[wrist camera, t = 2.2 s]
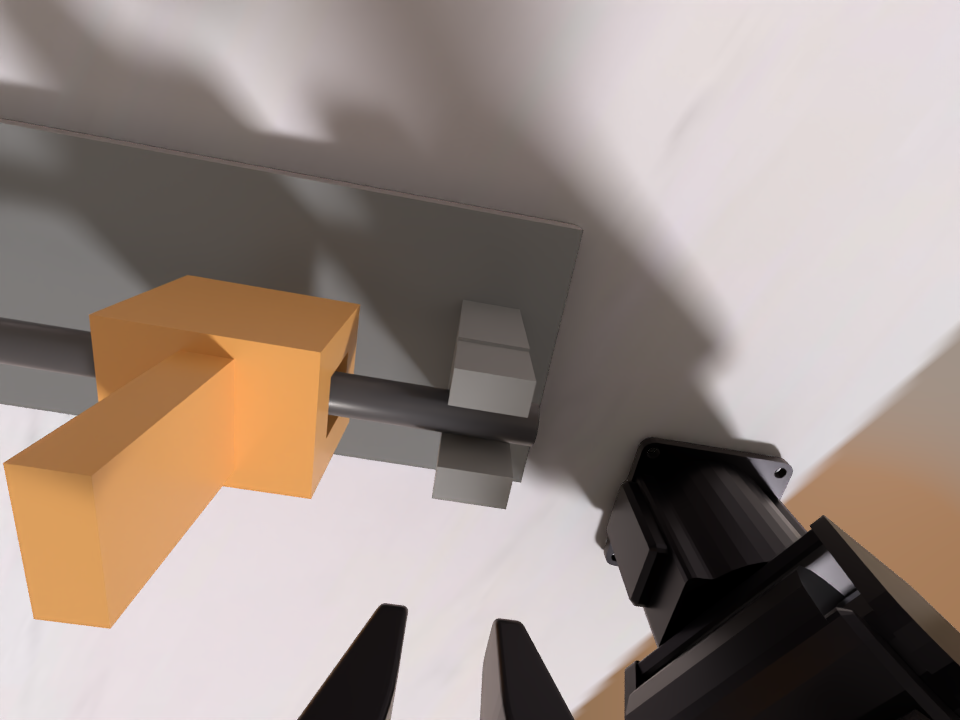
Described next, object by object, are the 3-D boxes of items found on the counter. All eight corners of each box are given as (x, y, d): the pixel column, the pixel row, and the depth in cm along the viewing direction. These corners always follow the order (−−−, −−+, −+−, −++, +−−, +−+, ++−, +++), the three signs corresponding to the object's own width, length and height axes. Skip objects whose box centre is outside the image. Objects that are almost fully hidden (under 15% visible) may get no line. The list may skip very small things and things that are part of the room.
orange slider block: (359, 304, 15) (227, 466, 7) (349, 421, 17) (228, 664, 9) (187, 275, 15) (-151, 410, 7) (191, 397, 16) (-84, 626, 8)
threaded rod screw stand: (575, 224, 18) (635, 268, 11) (518, 461, 22) (536, 608, 15) (-308, 61, 16) (-915, -14, 9) (-209, 349, 20) (-588, 455, 13)
